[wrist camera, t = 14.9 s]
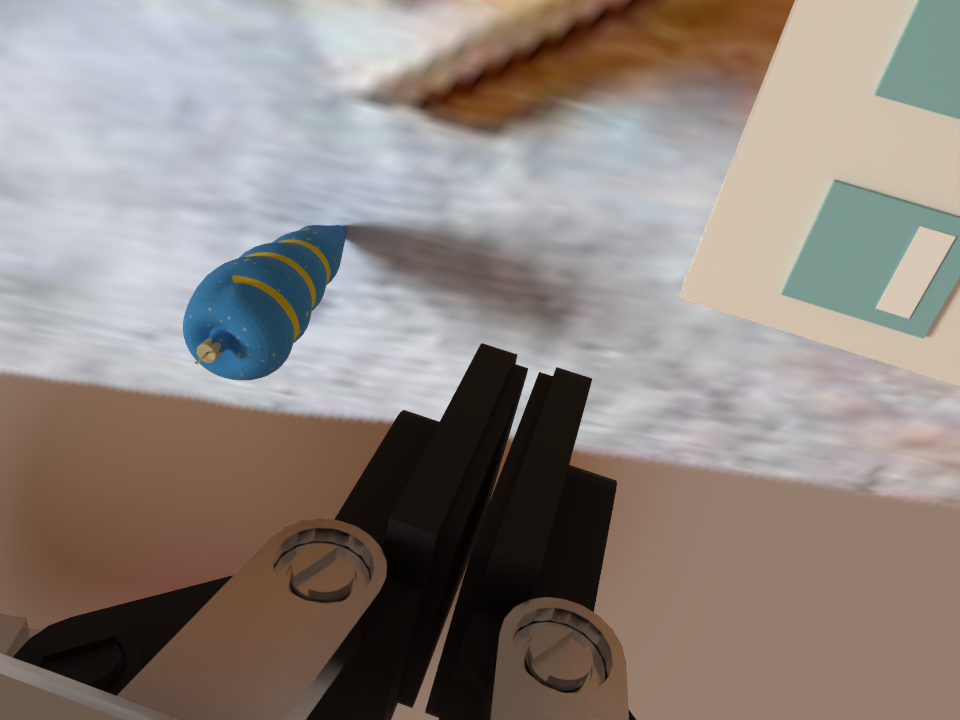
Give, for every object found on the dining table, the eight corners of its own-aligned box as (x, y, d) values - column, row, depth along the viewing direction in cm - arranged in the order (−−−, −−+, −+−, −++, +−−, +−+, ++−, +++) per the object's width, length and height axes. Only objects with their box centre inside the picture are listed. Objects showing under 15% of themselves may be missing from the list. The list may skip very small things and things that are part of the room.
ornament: (400, 241, 48) (281, 375, 35) (342, 290, 50) (212, 432, 38) (336, 170, 47) (189, 281, 34) (279, 224, 49) (124, 347, 36)
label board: (898, -262, 32) (906, -268, 31) (1342, -154, 30) (1372, -156, 29) (681, 288, 45) (679, 302, 43) (986, 384, 43) (994, 401, 42)
